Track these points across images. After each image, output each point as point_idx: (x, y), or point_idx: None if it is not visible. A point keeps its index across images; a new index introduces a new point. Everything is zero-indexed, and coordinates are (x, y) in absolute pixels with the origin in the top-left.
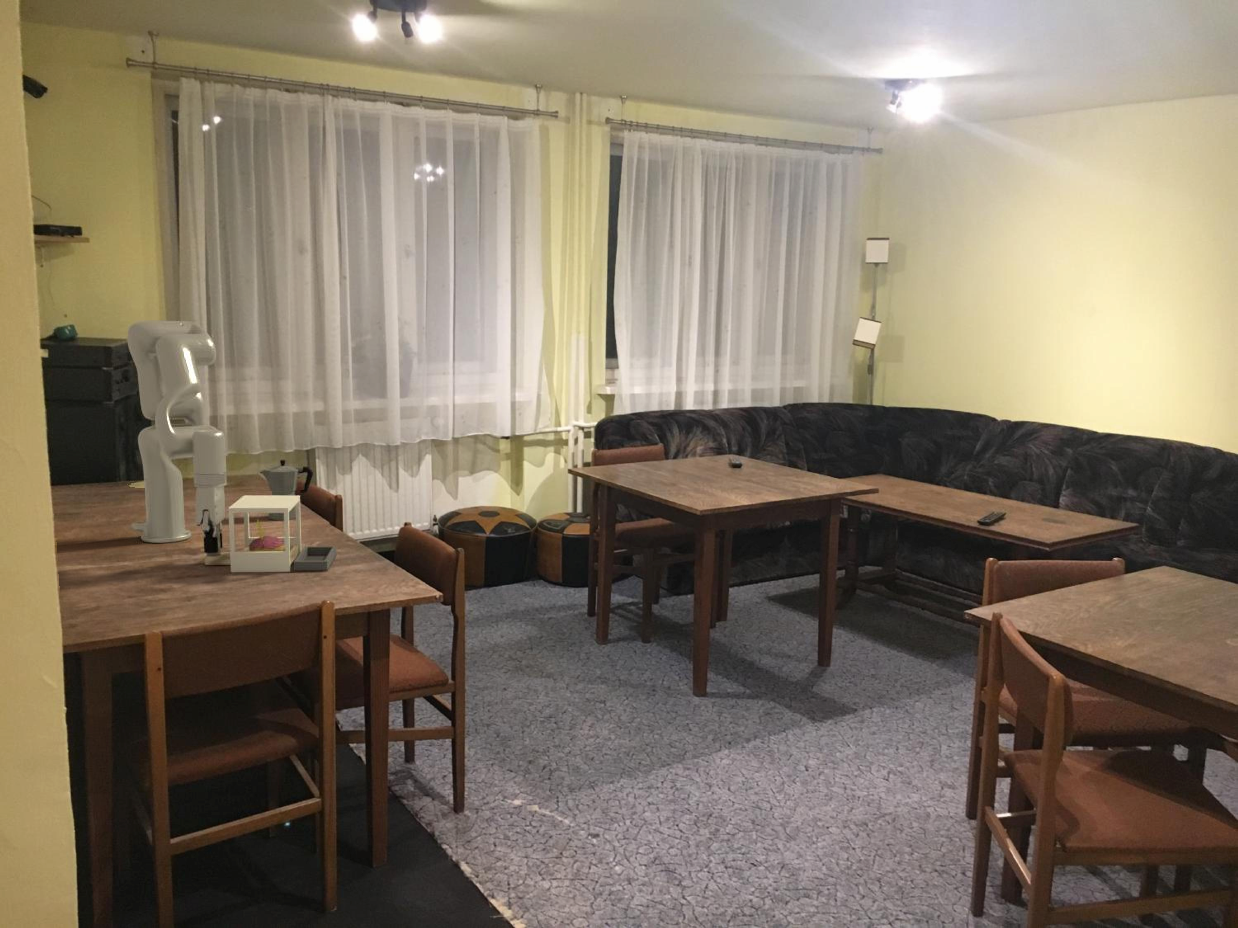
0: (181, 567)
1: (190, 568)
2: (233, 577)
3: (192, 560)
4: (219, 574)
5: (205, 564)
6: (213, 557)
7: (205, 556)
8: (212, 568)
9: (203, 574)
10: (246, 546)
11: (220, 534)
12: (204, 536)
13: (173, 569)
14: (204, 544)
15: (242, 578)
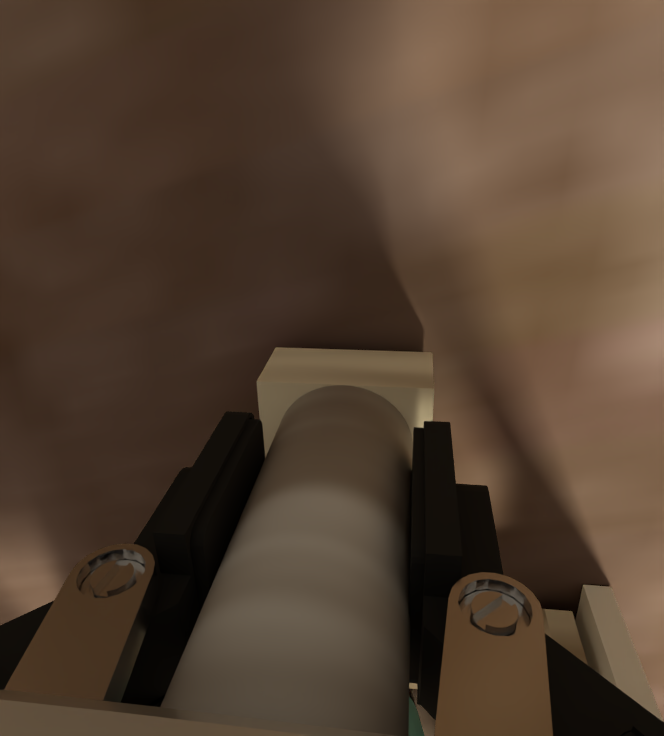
0: (229, 120)
1: (200, 226)
2: (16, 573)
3: (518, 151)
4: (63, 488)
5: (276, 350)
6: (266, 453)
7: (276, 383)
8: (215, 412)
9: (40, 383)
10: (605, 673)
11: (410, 680)
12: (79, 576)
13: (147, 55)
14: (194, 469)
15: (9, 618)
